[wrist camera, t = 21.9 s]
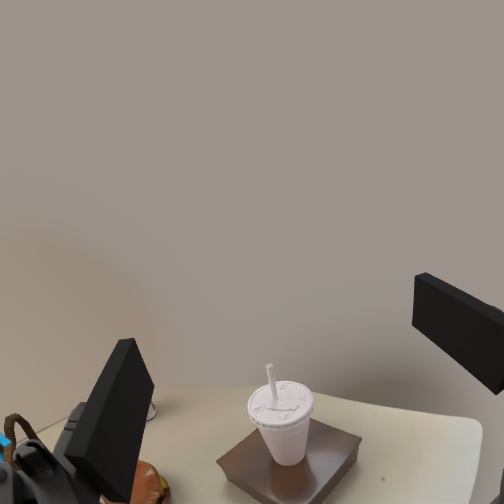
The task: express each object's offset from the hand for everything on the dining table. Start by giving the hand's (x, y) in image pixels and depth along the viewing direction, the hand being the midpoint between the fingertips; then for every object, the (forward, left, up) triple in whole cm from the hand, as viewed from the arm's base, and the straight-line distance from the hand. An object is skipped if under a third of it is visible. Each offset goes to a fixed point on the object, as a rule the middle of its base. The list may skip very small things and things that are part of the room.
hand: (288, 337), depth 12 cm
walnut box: (+8, -6, -28) cm, 30 cm away
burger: (+20, +11, -28) cm, 36 cm away
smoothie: (+8, -6, -23) cm, 25 cm away
